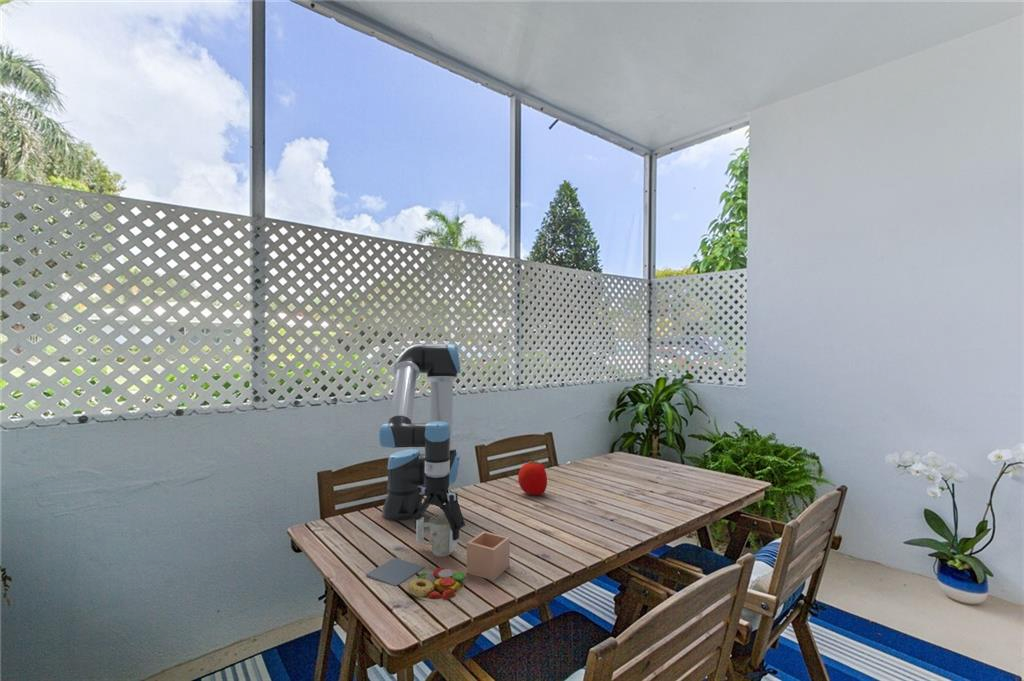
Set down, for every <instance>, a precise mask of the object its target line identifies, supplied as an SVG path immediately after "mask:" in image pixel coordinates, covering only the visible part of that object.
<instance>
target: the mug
mask: <svg viewBox="0 0 1024 681" xmlns="http://www.w3.org/2000/svg"><path fill="white" fill-rule="evenodd" d="M423 528H424V529H425V528H429V532H430V533H429V534H430V541H427V540H425V538H424V539H423V537H422V535H421V531H422V529H423ZM451 528H452V527H451V525H450V523H449V522H448V520H447V518H446V516H445V514H444V513H441V514H440V513H439V514H436V515H433V516H431V517H430V518H429V520H428V522H424V523H422V524H421V525H420V526H419V528H418V531H417V534H418V538H419V539H420V541H419V542H421V543H423V544H424V545H427V546H431V549H432V550H431V551H432V555H433V556H436V557H438V558H439V557H442V558H443V557H447V556H450V555H452V553H453V551H452V552H449V541H450V529H451Z"/></svg>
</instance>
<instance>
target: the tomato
mask: <svg viewBox="0 0 1024 681" xmlns="http://www.w3.org/2000/svg"><path fill="white" fill-rule="evenodd" d="M517 476H518V478H517V480H518V484H519V487H520V489H521V490H522V491H523V492H524V493H526V494H528V495H531V496H541V495H543V494H544V493H545V492H546V490H547V486H548V476H547V471H546V469H545V466H544V464H543V463H541V462H540V461H535V460H532V461H531V460H529V461H528V462H526V463H524V464H523V465H522V466H521V467H520V469H519V472H518V475H517Z"/></svg>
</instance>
